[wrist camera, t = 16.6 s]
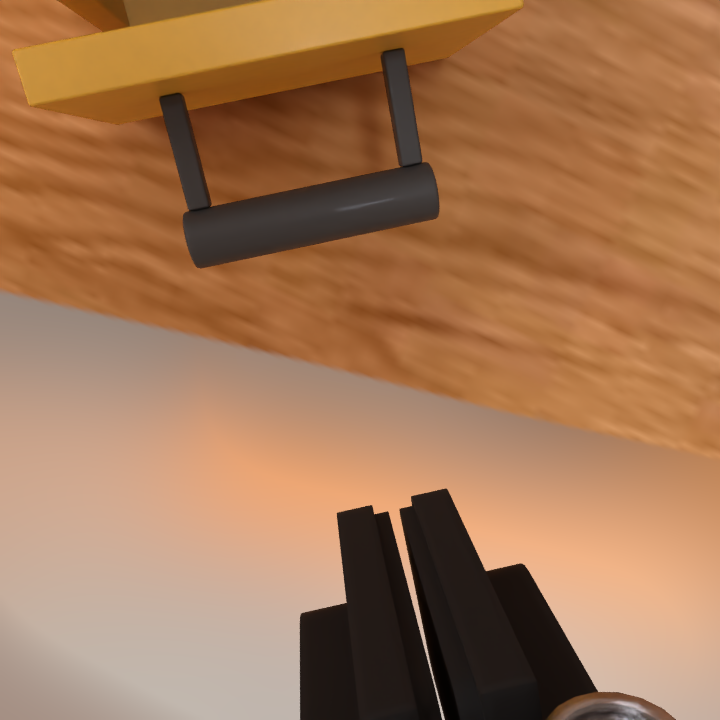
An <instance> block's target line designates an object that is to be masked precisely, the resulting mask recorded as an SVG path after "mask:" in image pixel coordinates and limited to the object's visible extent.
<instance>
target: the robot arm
mask: <svg viewBox="0 0 720 720" xmlns="http://www.w3.org/2000/svg"><path fill="white" fill-rule="evenodd" d="M411 501H412V506H410V507H406V508H401V509H400V516H401V521H402V526H403V531H404V536H405V541H406V545H407V550H408V555H409V560H410V565H411V570H412V575H413V580H414V585H415V589H416V595H417V599H418V605H419V609H420V614H421V619H422V624H423V629H424V634H425V639H426V644H427V649H428V653H429V658H430V663H431V667H432V671H433V676H434V680H435V684H436V688H437V691H438V695H439V699H440V702H441V706H442V710H443V714H444V718H445V720H676V719H674V718H673V717H672V716H671V715H670V714H669V713H667V712H666V711H665V710H664V709H662V708H660V707H658V706H656V705H654V704H652V703H650V702H648V701H646V700H644V699H642V698H639V697H635V696H631V695H627V694H623V693H619V692H598V691H597V689H596V687H595V686H594V684H593V682H592V680H591V679H590V677H589V675H588V674H587V672H586V670H585V669H584V667H583V665H582V663H581V661H580V660H579V658H578V656H577V654H576V653H575V651H574V649H573V648H572V646H571V644H570V642H569V641H568V639H567V637H566V635H565V633H564V632H563V630H562V628H561V626H560V625H559V623H558V621H557V620H556V618H555V616H554V614H553V613H552V611H551V609H550V607H549V606H548V604H547V602H546V600H545V599H544V597H543V595H542V593H541V592H540V590H539V588H538V586H537V585H536V583H535V581H534V579H533V578H532V576H531V574H530V572H529V571H528V569H527V568H526V567H525V565H523V564H516V565H512V566H507V567H503V568H499V569H494V570H490V571H485V569H484V567H483V565H482V562H481V561H480V558H479V556H478V554H477V552H476V550H475V547H474V545H473V543H472V541H471V539H470V537H469V535H468V533H467V530H466V528H465V526H464V524H463V522H462V520H461V517H460V515H459V513H458V511H457V509H456V507H455V505H454V502H453V500H452V498H451V496H450V494H449V492H448V490H447V489H442V490H437V491H433V492H429V493H424V494H419V495H415V496H411ZM337 520H338V529H339V538H340V547H341V556H342V565H343V574H344V583H345V591H346V601H347V603H345V604H340V605H336V606H332V607H327V608H322V609H318V610H314V611H309V612H305V613H302V614H301V616H300V720H442V718H441V713H440V708H439V704H438V700H437V696H436V692H435V688H434V684H433V679H432V676H431V673H430V668H429V664H428V660H427V657H426V653H425V649H424V646H423V642H422V638H421V634H420V630H419V627H418V623H417V619H416V615H415V611H414V608H413V604H412V600H411V596H410V592H409V588H408V585H407V581H406V577H405V573H404V570H403V566H402V562H401V558H400V554H399V550H398V547H397V543H396V539H395V535H394V532H393V528H392V524H391V520H390V516H389V513H388V512H383V513H379V514H374V512H373V507H372V505H370V506H365V507H361V508H356V509H352V510H347V511H344V512H339V513H337Z"/></svg>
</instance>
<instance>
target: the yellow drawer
mask: <svg viewBox="0 0 720 720" xmlns="http://www.w3.org/2000/svg"><path fill="white" fill-rule="evenodd" d="M58 1H59V2H61V3H62V4H64V5H65V6H67V7H68V8H69V9H71V10H72V11H74V12H75V13H77V14H78V15H80V16H81V17H83V18H84V19H86V20H87V21H88V22H90V23H91V24H93V25H94V26H96V27H97V28H99V29H100V30H102V31H103V32H100V33H94V34H89V35H84V36H79V37H74V38H69V39H64V40H59V41H54V42H49V43H44V44H39V45H34V46H29V47H24V48H19V49H14V50H13V51H12V54H13V57H14V61H15V64H16V67H17V70H18V73H19V76H20V79H21V82H22V85H23V88H24V92H25V95H26V98H27V101H28V104H29V105H30V106H31V107H36V108H41V109H45V110H50V111H55V112H60V113H64V114H69V115H74V116H78V117H83V118H88V119H93V120H97V121H102V122H107V123H112V124H116V125H119V124H124V123H129V122H134V121H139V120H144V119H148V118H153V117H158V116H163V117H164V120H165V124H166V128H167V132H168V135H169V139H170V143H171V147H172V150H173V154H174V158H175V162H176V165H177V169H178V173H179V177H180V180H181V184H182V188H183V192H184V195H185V199H186V203H187V206H188V209H189V211H188V212H185V213H184V215H183V228H184V234H185V238H186V242H187V246H188V249H189V252H190V255H191V258H192V260H193V262H194V264H195V265H196V267H197V268H205V267H210V266H215V265H219V264H224V263H229V262H234V261H238V260H243V259H248V258H253V257H257V256H262V255H267V254H272V253H276V252H281V251H286V250H291V249H295V248H300V247H305V246H309V245H314V244H319V243H324V242H328V241H333V240H338V239H343V238H347V237H352V236H357V235H362V234H366V233H371V232H376V231H380V230H385V229H390V228H395V227H399V226H404V225H409V224H414V223H418V222H423V221H428V220H433V219H436V218H437V217H438V215H439V195H438V188H437V183H436V179H435V176H434V173H433V170H432V168H431V166H430V164H429V163H426V162H424V163H422V155H421V148H420V142H419V136H418V130H417V124H416V118H415V112H414V105H413V99H412V93H411V87H410V81H409V75H408V69H407V66H410V65H415V64H419V63H424V62H429V61H434V60H439V59H444V58H448V57H450V56H451V55H453V54H454V53H456V52H457V51H459V50H460V49H462V48H463V47H465V46H466V45H468V44H469V43H471V42H472V41H474V40H475V39H477V38H478V37H480V36H481V35H483V34H484V33H486V32H487V31H489V30H490V29H492V28H493V27H495V26H496V25H498V24H499V23H500V22H502V21H503V20H505V19H506V18H508V17H509V16H511V15H512V14H514V13H515V12H517V11H518V10H520V9H521V8H523V6H524V2H523V0H58ZM380 71H383V75H384V81H385V87H386V93H387V99H388V104H389V110H390V116H391V122H392V127H393V133H394V139H395V145H396V150H397V156H398V162H399V165H400V166H401V167H400V168H395V169H390V170H385V171H380V172H375V173H371V174H366V175H361V176H356V177H351V178H347V179H342V180H337V181H332V182H327V183H323V184H318V185H313V186H308V187H303V188H299V189H294V190H289V191H284V192H279V193H275V194H270V195H265V196H260V197H255V198H251V199H246V200H241V201H236V202H231V203H227V204H222V205H217V206H212V207H210V206H211V204H212V203H211V199H210V195H209V192H208V188H207V184H206V180H205V176H204V172H203V168H202V164H201V160H200V156H199V153H198V149H197V145H196V141H195V137H194V133H193V129H192V125H191V121H190V118H189V114H188V110H193V109H198V108H203V107H208V106H213V105H217V104H222V103H227V102H232V101H237V100H242V99H247V98H252V97H257V96H262V95H267V94H272V93H277V92H281V91H286V90H291V89H296V88H301V87H306V86H311V85H316V84H321V83H326V82H331V81H336V80H341V79H346V78H350V77H355V76H360V75H365V74H370V73H375V72H380Z"/></svg>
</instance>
